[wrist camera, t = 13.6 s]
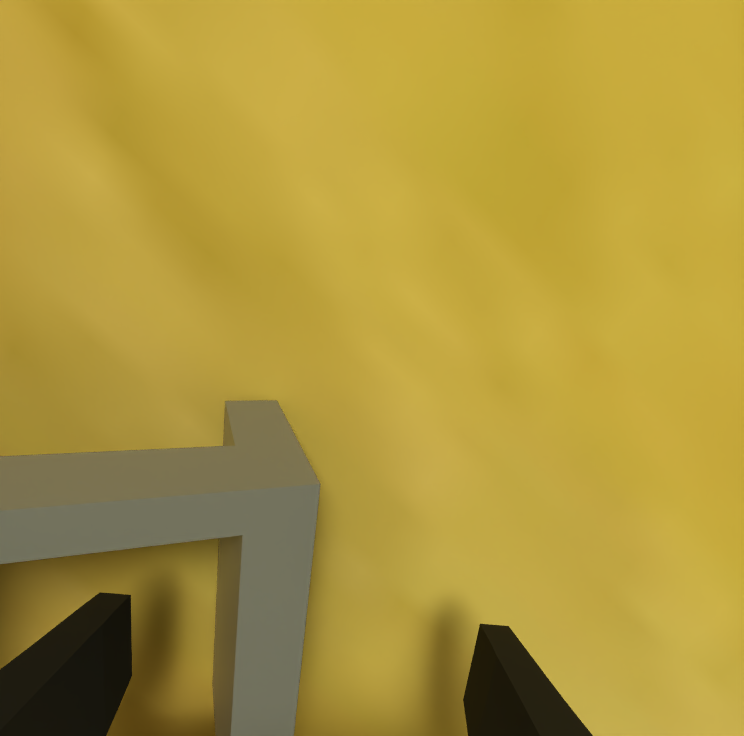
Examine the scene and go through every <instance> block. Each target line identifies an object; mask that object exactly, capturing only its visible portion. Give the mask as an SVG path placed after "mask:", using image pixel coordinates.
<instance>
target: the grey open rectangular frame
mask: <svg viewBox="0 0 744 736" xmlns="http://www.w3.org/2000/svg"><path fill="white" fill-rule="evenodd" d="M319 492H320V482H319V481H318V479H317V477H316V475H315V473H314V471H313V469H312V467H311V465H310V463H309V461H308V459H307V457H306V456H305V454H304V452H303V450H302V448H301V446H300V444H299V442H298V440H297V438H296V436H295V434H294V432H293V431H292V429H291V427H290V425H289V423H288V421H287V419H286V417H285V415H284V413H283V411H282V409H281V407H280V406H279V404H278V402H277V400H275V401H225V414H224V437H223V446H215V447H194V448H172V449H151V450H129V451H107V452H86V453H64V454H42V455H21V456H0V564H6V563H14V562H23V561H31V560H39V559H48V558H56V557H64V556H73V555H81V554H89V553H98V552H106V551H115V550H123V549H131V548H140V547H148V546H156V545H165V544H173V543H181V542H190V541H198V540H206V539H215V538H219V549H218V572H217V594H216V617H215V639H214V662H213V701H214V718H215V734H216V736H294V728H295V719H296V709H297V700H298V691H299V681H300V672H301V662H302V653H303V643H304V634H305V624H306V615H307V605H308V596H309V587H310V577H311V568H312V558H313V549H314V539H315V530H316V520H317V511H318V501H319Z"/></svg>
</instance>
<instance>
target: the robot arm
mask: <svg viewBox="0 0 744 736" xmlns="http://www.w3.org/2000/svg"><path fill="white" fill-rule="evenodd" d="M131 676H132V652H131V595H124V594H112V593H99V594H97V595H96V596H95V597H93V598H92V599H91V600H89V601H88V602H87V603H85V604H84V605H83V606H82V607H80V608H79V609H78V610H76V611H75V612H74V613H73V614H71V615H70V616H69V617H67V618H66V619H65V620H64V621H62V622H61V623H60V624H59V625H57V626H56V627H55V628H53V629H52V630H51V631H50V632H48V633H47V634H46V635H45V636H43V637H42V638H41V639H39V640H38V641H37V642H36V643H34V644H33V645H32V646H30V647H29V648H28V649H27V650H25V651H24V652H23V653H21V654H20V655H19V656H17V657H16V658H15V659H14V660H12V661H11V662H10V663H8V664H7V665H6V666H4V667H3V668H2V669H0V736H106V735H107V732H108V730H109V728H110V726H111V723H112V721H113V719H114V717H115V714H116V712H117V710H118V707H119V705H120V703H121V700H122V698H123V696H124V693H125V691H126V688H127V686H128V684H129V681H130V679H131ZM463 701H464V708H465V715H466V723H467V730H468V736H593V735H592V734H591V733H590V732H589V730H588V729H587V728H586V727H585V725H584V724H583V723H582V722H581V720H580V719H579V718H578V717H577V715H576V714H575V713H574V712H573V710H572V709H571V708H570V707H569V705H568V704H567V703H566V701H565V700H564V699H563V698H562V696H561V695H560V694H559V692H558V691H557V690H556V688H555V687H554V686H553V685H552V683H551V682H550V681H549V679H548V678H547V677H546V675H545V674H544V673H543V671H542V670H541V669H540V667H539V666H538V665H537V663H536V662H535V661H534V659H533V658H532V657H531V655H530V654H529V653H528V651H527V650H526V649H525V647H524V646H523V645H522V643H521V642H520V641H519V639H518V638H517V637H516V635H515V634H514V633H513V631H512V630H511V629H510V628H509V626H500V625H488V624H480V627H479V631H478V636H477V640H476V645H475V649H474V654H473V658H472V663H471V668H470V672H469V677H468V681H467V686H466V690H465V695H464V699H463Z"/></svg>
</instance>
